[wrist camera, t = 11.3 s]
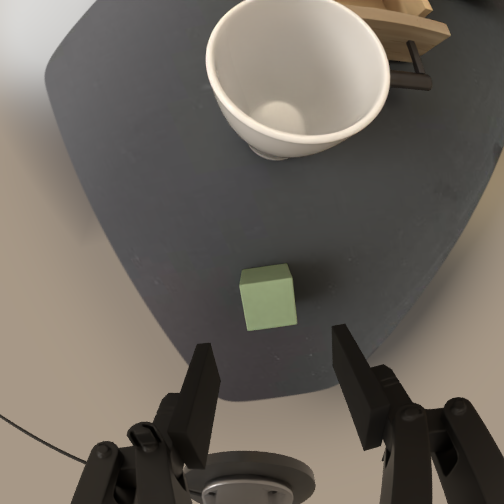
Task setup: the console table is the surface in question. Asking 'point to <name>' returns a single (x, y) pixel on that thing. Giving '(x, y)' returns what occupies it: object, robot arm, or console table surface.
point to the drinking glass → (296, 75)
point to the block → (268, 297)
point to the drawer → (402, 35)
